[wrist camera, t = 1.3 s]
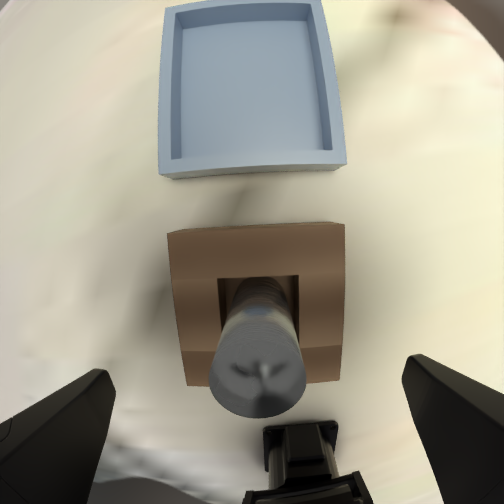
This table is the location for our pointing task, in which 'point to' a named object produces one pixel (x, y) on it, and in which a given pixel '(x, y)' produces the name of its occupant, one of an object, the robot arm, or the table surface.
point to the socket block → (258, 265)
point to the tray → (248, 89)
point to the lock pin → (258, 353)
